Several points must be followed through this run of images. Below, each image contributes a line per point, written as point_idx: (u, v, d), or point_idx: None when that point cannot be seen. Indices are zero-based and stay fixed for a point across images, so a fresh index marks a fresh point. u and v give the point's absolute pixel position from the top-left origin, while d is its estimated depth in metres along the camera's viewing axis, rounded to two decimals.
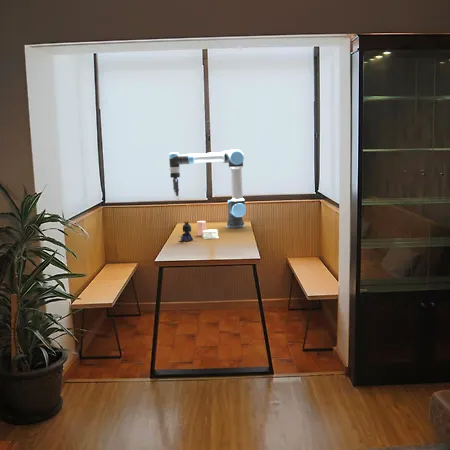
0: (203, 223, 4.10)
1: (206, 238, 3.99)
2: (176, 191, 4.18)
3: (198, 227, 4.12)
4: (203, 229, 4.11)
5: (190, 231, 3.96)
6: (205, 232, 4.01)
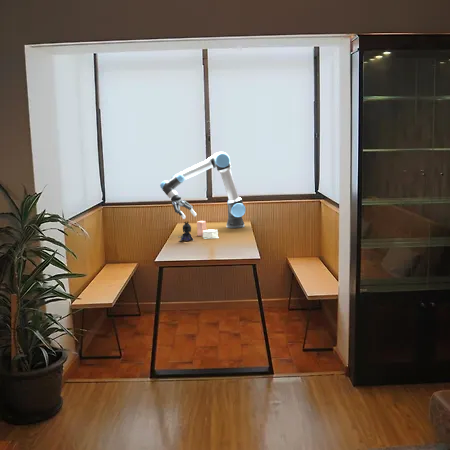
0: (203, 223, 4.10)
1: (206, 238, 3.99)
2: (177, 212, 4.13)
3: (198, 227, 4.12)
4: (203, 229, 4.11)
5: (190, 231, 3.96)
6: (205, 232, 4.01)
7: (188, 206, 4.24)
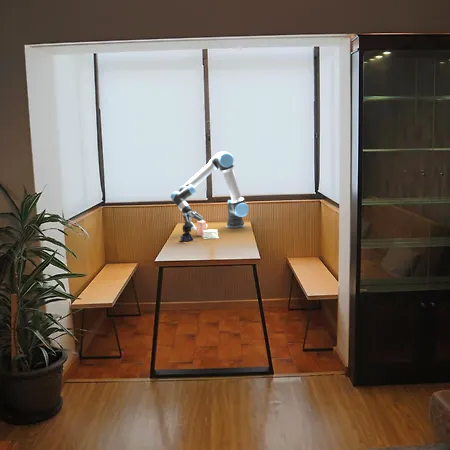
0: (203, 223, 4.10)
1: (206, 238, 3.99)
2: (188, 223, 4.08)
3: (198, 227, 4.12)
4: (203, 229, 4.11)
5: (190, 231, 3.96)
6: (205, 232, 4.01)
7: (199, 217, 4.19)
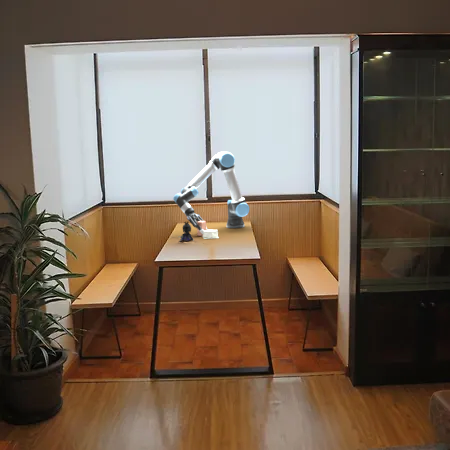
0: (203, 223, 4.10)
1: (206, 238, 3.99)
2: (196, 227, 4.10)
3: None
4: (203, 229, 4.11)
5: (190, 231, 3.96)
6: (205, 232, 4.01)
7: None
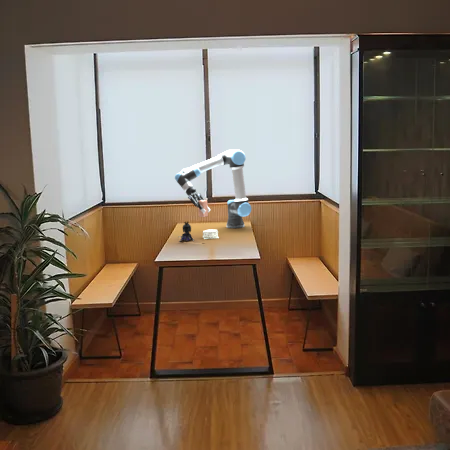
0: (204, 202, 4.03)
1: (206, 238, 3.99)
2: (197, 206, 4.02)
3: None
4: (204, 208, 4.03)
5: (190, 231, 3.96)
6: (205, 232, 4.01)
7: None
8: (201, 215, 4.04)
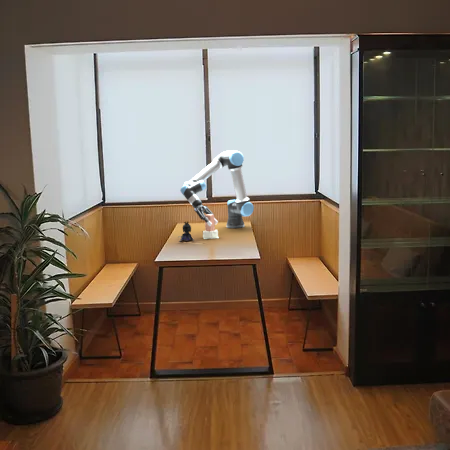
0: (211, 216, 4.00)
1: (206, 238, 3.99)
2: (203, 219, 3.98)
3: None
4: None
5: (190, 231, 3.96)
6: (205, 232, 4.01)
7: (209, 213, 4.05)
8: (208, 229, 4.01)
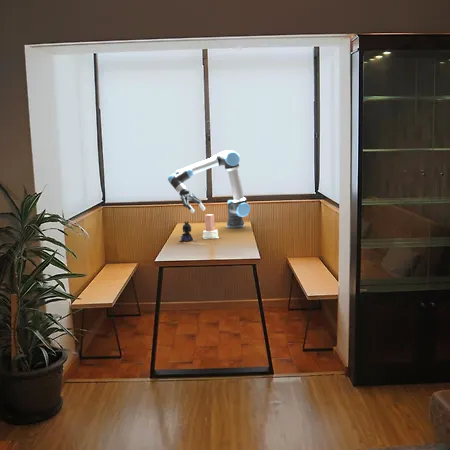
0: (211, 216, 4.00)
1: (206, 238, 3.99)
2: (186, 206, 4.02)
3: (206, 220, 4.01)
4: (211, 223, 4.00)
5: (190, 231, 3.96)
6: (205, 232, 4.01)
7: (197, 200, 4.13)
8: (208, 229, 4.01)
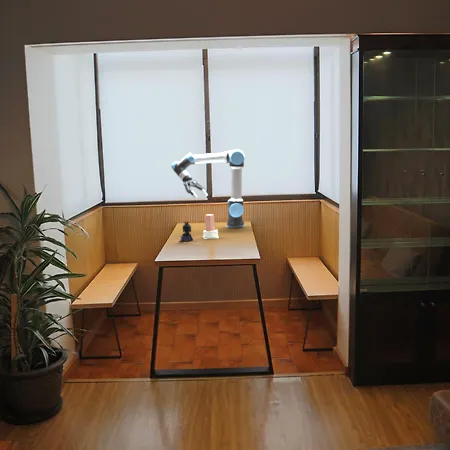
0: (211, 216, 4.00)
1: (206, 238, 3.99)
2: (189, 192, 4.16)
3: (206, 220, 4.01)
4: (211, 223, 4.00)
5: (190, 231, 3.96)
6: (205, 232, 4.01)
7: (199, 186, 4.27)
8: (208, 229, 4.01)
